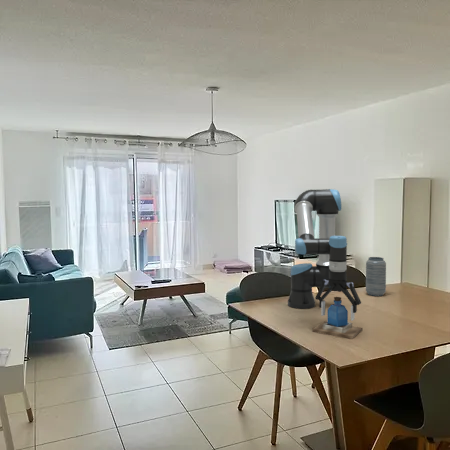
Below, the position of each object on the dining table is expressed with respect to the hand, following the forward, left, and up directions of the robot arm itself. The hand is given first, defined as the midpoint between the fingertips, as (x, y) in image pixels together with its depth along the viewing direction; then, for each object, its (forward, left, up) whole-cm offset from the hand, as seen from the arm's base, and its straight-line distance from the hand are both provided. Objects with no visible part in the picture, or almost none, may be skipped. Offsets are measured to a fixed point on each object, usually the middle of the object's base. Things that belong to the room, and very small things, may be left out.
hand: (337, 317), depth 186 cm
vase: (-6, +82, -6) cm, 82 cm away
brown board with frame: (0, 0, -6) cm, 6 cm away
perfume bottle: (0, 0, -3) cm, 3 cm away
